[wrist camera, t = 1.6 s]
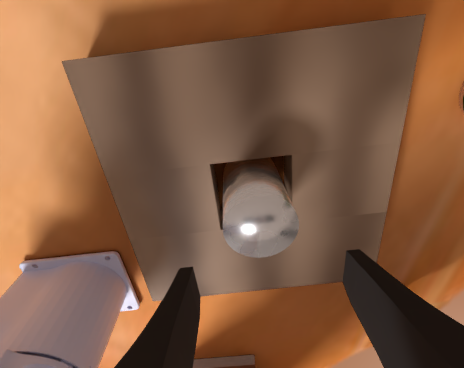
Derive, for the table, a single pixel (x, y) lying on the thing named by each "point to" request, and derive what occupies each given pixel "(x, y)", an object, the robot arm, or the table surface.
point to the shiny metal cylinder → (257, 209)
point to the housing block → (252, 145)
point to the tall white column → (226, 362)
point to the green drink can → (461, 98)
